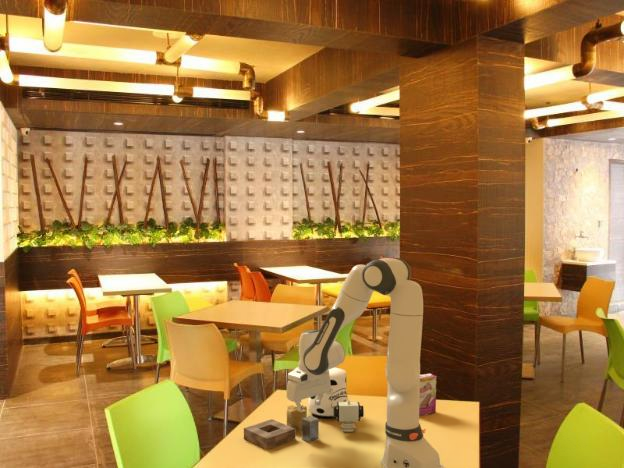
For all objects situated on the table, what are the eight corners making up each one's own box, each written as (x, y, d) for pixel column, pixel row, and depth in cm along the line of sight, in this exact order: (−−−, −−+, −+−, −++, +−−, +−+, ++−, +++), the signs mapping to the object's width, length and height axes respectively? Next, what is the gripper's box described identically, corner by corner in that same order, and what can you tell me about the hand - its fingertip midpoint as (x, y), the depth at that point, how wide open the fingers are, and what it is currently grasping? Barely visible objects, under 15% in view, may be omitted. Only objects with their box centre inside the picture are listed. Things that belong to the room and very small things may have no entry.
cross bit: (311, 428, 241) (311, 408, 240) (296, 433, 235) (296, 413, 234) (297, 422, 247) (297, 403, 246) (281, 427, 241) (281, 408, 241)
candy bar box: (414, 417, 253) (415, 379, 252) (408, 413, 257) (408, 375, 256) (436, 413, 257) (437, 375, 256) (429, 409, 262) (430, 372, 261)
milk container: (346, 421, 247) (346, 378, 247) (304, 419, 251) (304, 376, 250) (350, 407, 264) (350, 367, 264) (312, 405, 268) (312, 365, 267)
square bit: (318, 439, 229) (318, 418, 229) (309, 442, 226) (309, 421, 226) (310, 435, 233) (310, 415, 232) (301, 439, 230) (301, 418, 229)
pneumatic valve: (363, 432, 236) (363, 402, 235) (333, 433, 235) (333, 403, 235) (362, 427, 241) (362, 398, 241) (333, 427, 241) (333, 398, 240)
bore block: (295, 438, 230) (295, 428, 229) (267, 449, 220) (267, 438, 220) (271, 428, 240) (271, 419, 239) (243, 438, 230) (243, 428, 230)
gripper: (323, 365, 238) (322, 399, 239) (284, 375, 224) (283, 411, 224) (334, 369, 233) (333, 403, 234) (295, 378, 219) (294, 416, 220)
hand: (308, 407), depth 229 cm, fingers open, 8 cm apart
